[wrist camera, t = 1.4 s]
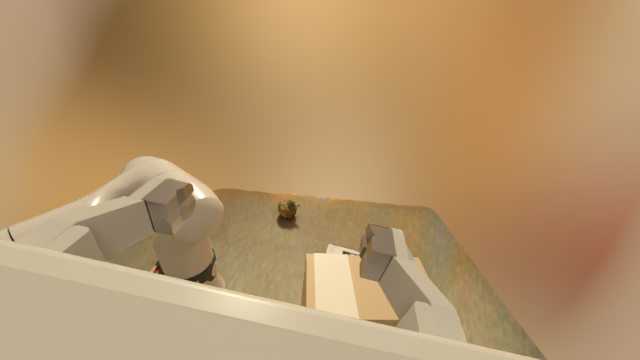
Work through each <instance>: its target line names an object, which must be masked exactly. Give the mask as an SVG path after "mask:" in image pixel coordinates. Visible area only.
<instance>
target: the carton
mask: <svg viewBox="0 0 640 360" xmlns="http://www.w3.org/2000/svg"><path fill="white" fill-rule="evenodd" d="M413 258H414V261H415V263H416V265H417V266H418V267H419V268H420V269H421V270H422V271H423V272H424V274H425V275H426V276H427V274H426V272H425V270H424V268H423V266H422V264H421V261H420V259H419V258H415V257H413ZM361 260H362V259H361V258H360V256H359V255H348V254H321V253H314V254H306V263H305V272H304V281H303V290H302V299H301V306H304V307H308V308H313V309H317V310H322V311H326V312H330V313H335V314H339V315H344V316H348V317H353V318H357V319H362V320H366V321H371V322H375V323H380V324H384V325H389V326H393V327H396V325H397V324H398V323H399V322H400V320H399V319H398V317H397V315H396V313H395V312H394V310H393V308H392V306H391V305H390V303H389V301H388V299H387V298H386V296H385V294H384V292H383V290H382V289H381V287H380V285H379V282H376V281H372V280H368V279H364V278H360V269H359V264H360V262H361ZM427 277H428V276H427Z"/></svg>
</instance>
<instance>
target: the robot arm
mask: <svg viewBox="0 0 640 360" xmlns="http://www.w3.org/2000/svg"><path fill="white" fill-rule="evenodd" d="M223 215H224V208H223V205H222V203H221V201H220V200H219V199H218V197H217V196H216V195H215V194H214V193H213V191H212V190H211V189H210V188H209V187H208V186H206V185H205V184H203V183H202V182H200V181H199V180H197V179H196V178H194V177H193V176H191V175H190V174H188V173H186V172H185V171H183V170H182V169H180V168H179V167H177V166H176V165H174V164H173V163H171V162H169V161H166V160H163V159H160V158H156V157H151V156H143V157H139V158H136V159H134V160H132V161H130V162H129V163H127V164H126V165H125V166H124V168H123V169H122V171H121V173H120V174H119V175H118V176H117V177H115V178H114V179H113V180H111V181H110V182H108V183H106V184H105V185H103V186H102V187H100V188H98V189H97V190H95V191H93V192H92V193H90V194H88V195H86V196H84V197H83V198H80V199H78V200H76V201H74V202H72V203H69V204H66V205H64V206H61V207H59V208H56V209H54V210H51V211H49V212H46V213H44V214H41V215H39V216H36V217H33V218H31V219H28V220H25V221H23V222H20V223H18V224H15V225H12V226H10V227H7V228H5V229H2V230H0V360H540V359H536V358H531V357H527V356H522V355H518V354H514V353H509V352H505V351H500V350H496V349H491V348H487V347H482V346H478V345H473V344H469V343H467V340H466V337H465V335H464V332H463V329H462V326H461V323H460V320H459V317H458V314H457V311H456V309H455V308H454V307H453V305H452V304H451V303H450V302H449V301H448V300H447V299H446V297H445V296H444V295H443V294H442V293H441V292H440V291H439V290H438V288H437V287H436V286H435V285H434V284H433V283H432V282H431V280H430V279H429V278H428V277H427V276H426V275H425V274H424V272H423V271H422V270H421V269H420V268H419V267H418V266H417V265H416V263H415V262H414V261H413V260H410V259H409V255H408V250H407V246H406V242H405V238H404V233H403V231H402V230H399V229H394V228H389V227H384V226H379V225H375V224H370V223H369V224H368V225H367V227H366V234H365V235H364V236H363V237H362V240H361V243H360V249H359V256H360V258H361V259H362V260H361V262H360V264H359V269H360V278H364V279H368V280H372V281H376V282H379V285H380V287H381V289H382V290H383V292H384V294H385V296H386V298H387V299H388V301H389V303H390V305H391V306H392V308H393V310H394V312H395V313H396V315H397V317H398V319H399V320H400V322H399V323H398V324H397V325H396V327H393V326H389V325H384V324H380V323H375V322H371V321H366V320H362V319H357V318H353V317H348V316H344V315H339V314H335V313H330V312H326V311H322V310H317V309H313V308H308V307H304V306H299V305H295V304H290V303H286V302H281V301H277V300H272V299H268V298H263V297H259V296H255V295H250V294H246V293H241V292H237V291H232V290H228V289H226V284H225V281H224V279H223V278H222V277H221V275H220V274H219V272H218V270H217V261H216V256H215V252H214V250H213V248H212V246H211V240H210V235H212V234H213V233H214V232H215V231H216V230H217V228H218V227H219V225H220V224H221V221H222V219H223ZM154 232H156V233H157V237H156V239H155V242H154V249H155V252H156V255H157V257H158V261H157V263H156V266H155V267H154V268H153V269H152V270H151V271H150V272H148V271H143V270H139V269H134V268H130V267H125V266H121V265H117V264H112V263H108V261H110V260H112V259H114V258H115V257H116V256H117V255H118V254H119V253H120V252H121V251H122V250H123V249H125V248H127V247H129V246H131V245H133V244H135V243H137V242H138V241H140V240H142V239H144V238H146V237H148V236H150V235H152V234H153V233H154Z"/></svg>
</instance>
